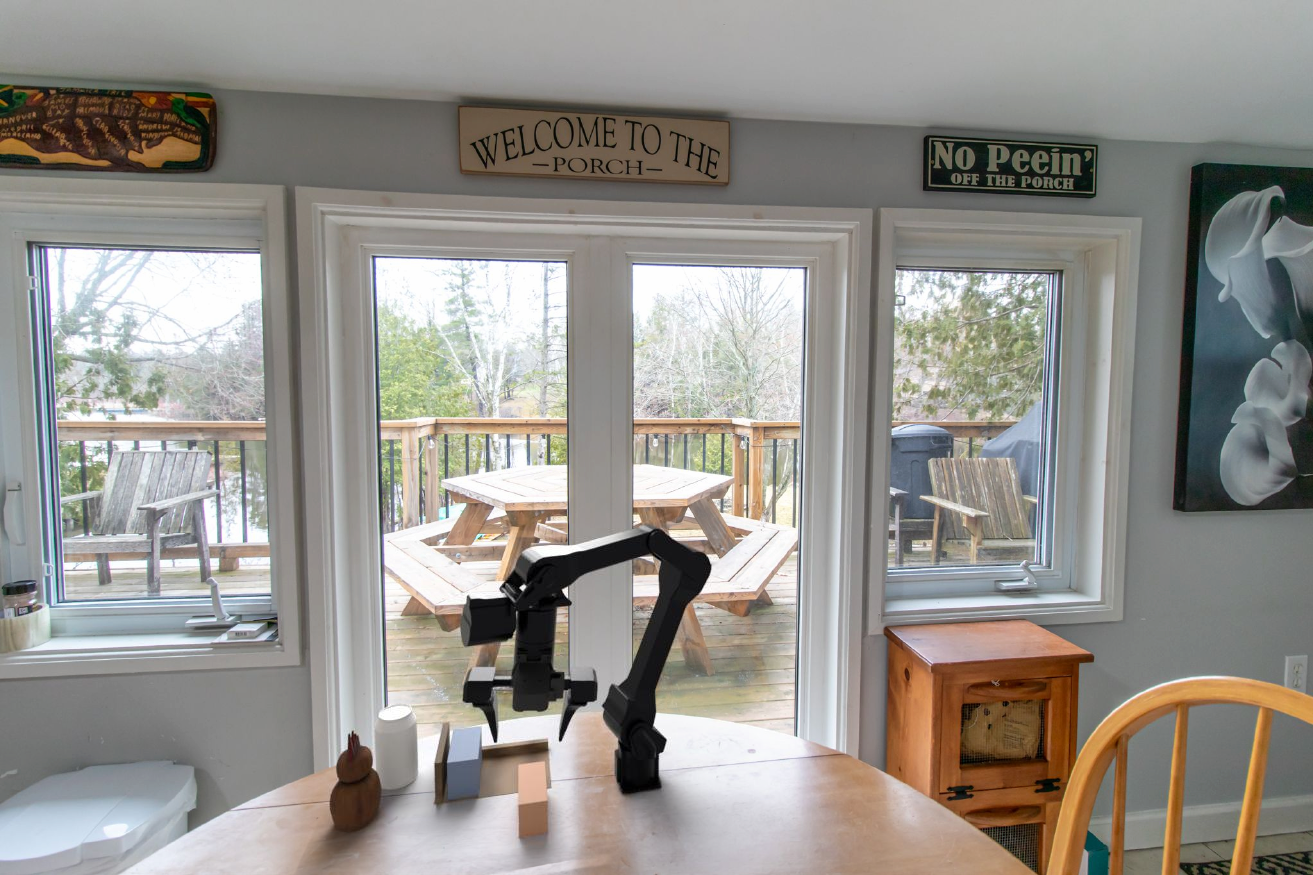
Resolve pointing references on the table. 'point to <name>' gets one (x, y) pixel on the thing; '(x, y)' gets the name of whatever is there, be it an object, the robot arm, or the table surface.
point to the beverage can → (396, 746)
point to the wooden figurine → (355, 788)
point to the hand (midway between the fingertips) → (528, 740)
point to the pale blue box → (464, 763)
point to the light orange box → (532, 799)
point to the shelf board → (491, 766)
